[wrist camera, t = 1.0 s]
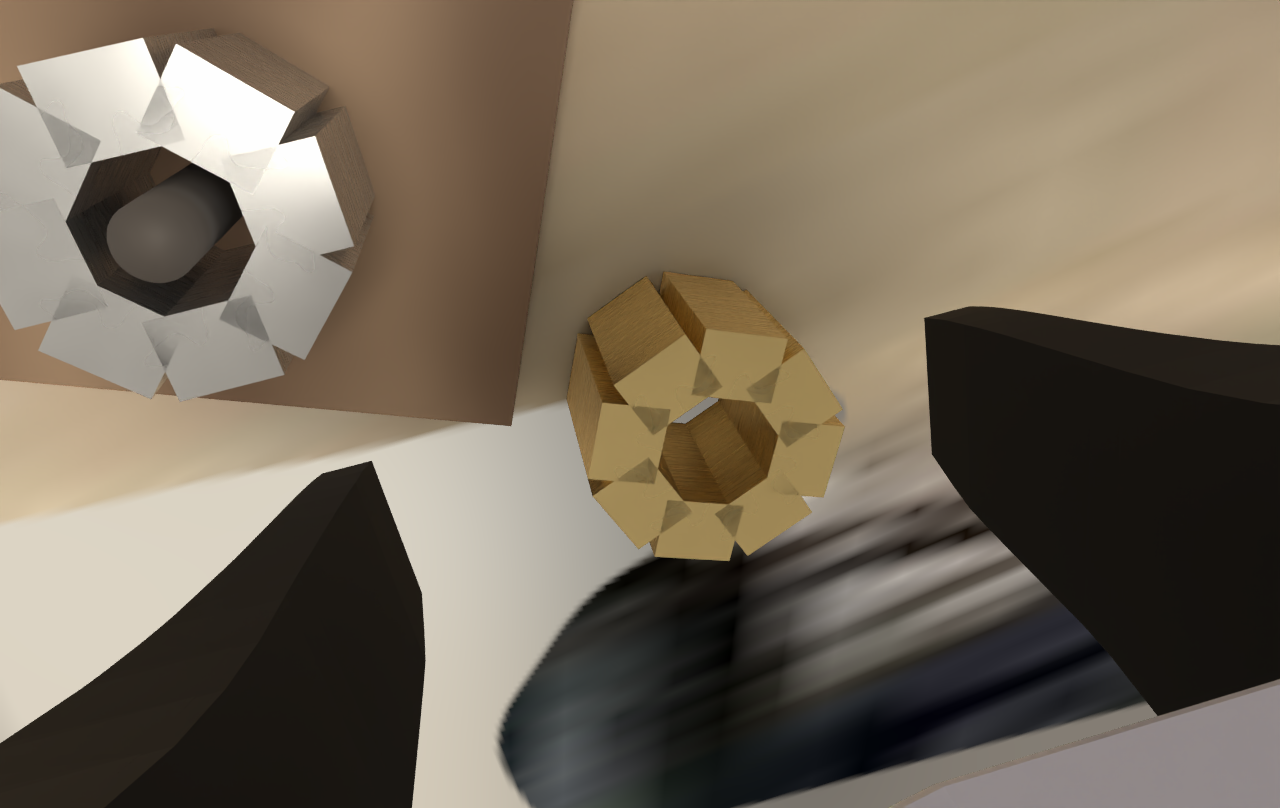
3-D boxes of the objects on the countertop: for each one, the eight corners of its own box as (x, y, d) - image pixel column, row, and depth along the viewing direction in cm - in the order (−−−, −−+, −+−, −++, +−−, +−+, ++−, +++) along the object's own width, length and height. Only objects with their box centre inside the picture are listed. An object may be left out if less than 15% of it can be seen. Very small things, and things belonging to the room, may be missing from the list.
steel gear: (312, 6, 16) (269, 9, 12) (403, 278, 18) (390, 347, 15) (16, 72, 16) (-116, 95, 12) (147, 342, 18) (70, 430, 14)
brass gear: (800, 290, 22) (868, 349, 18) (750, 478, 24) (803, 565, 20) (589, 261, 20) (618, 317, 17) (555, 462, 22) (574, 552, 19)
